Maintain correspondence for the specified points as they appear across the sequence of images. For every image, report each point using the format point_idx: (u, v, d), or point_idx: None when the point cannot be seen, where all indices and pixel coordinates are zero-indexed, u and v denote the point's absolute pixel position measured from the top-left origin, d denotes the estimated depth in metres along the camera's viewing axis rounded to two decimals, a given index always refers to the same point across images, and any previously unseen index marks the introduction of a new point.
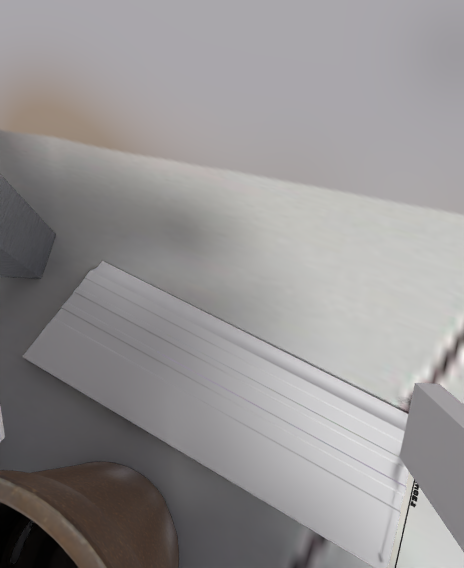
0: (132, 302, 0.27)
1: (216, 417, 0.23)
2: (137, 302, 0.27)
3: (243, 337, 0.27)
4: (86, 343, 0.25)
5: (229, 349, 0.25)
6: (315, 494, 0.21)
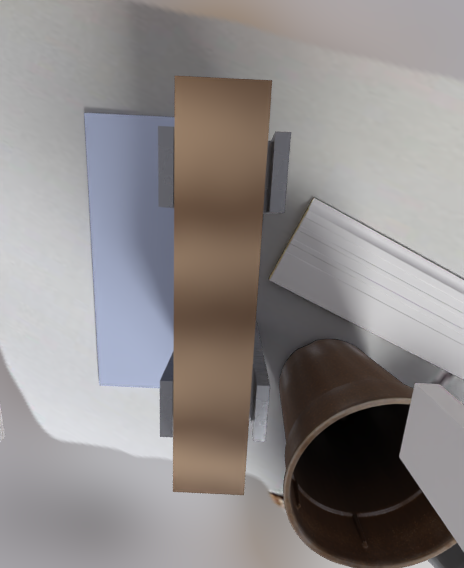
0: (345, 239, 0.34)
1: (403, 318, 0.36)
2: (349, 239, 0.34)
3: (426, 264, 0.35)
4: (313, 271, 0.35)
5: (418, 275, 0.35)
6: (456, 357, 0.37)
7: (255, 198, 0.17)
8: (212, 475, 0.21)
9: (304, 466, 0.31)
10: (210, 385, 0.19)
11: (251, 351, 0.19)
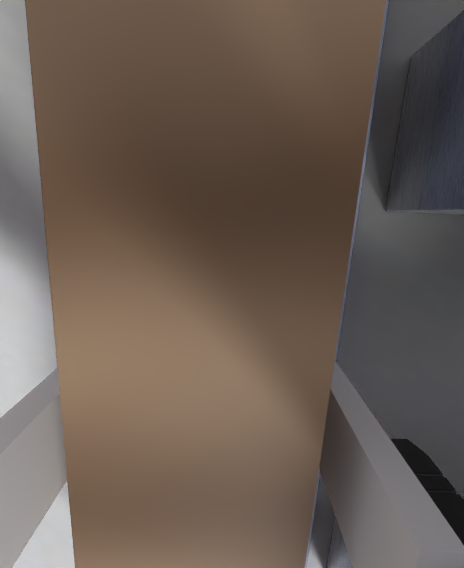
0: None
1: None
2: None
3: None
4: None
5: None
6: None
7: (334, 147, 0.05)
8: None
9: None
10: None
11: None
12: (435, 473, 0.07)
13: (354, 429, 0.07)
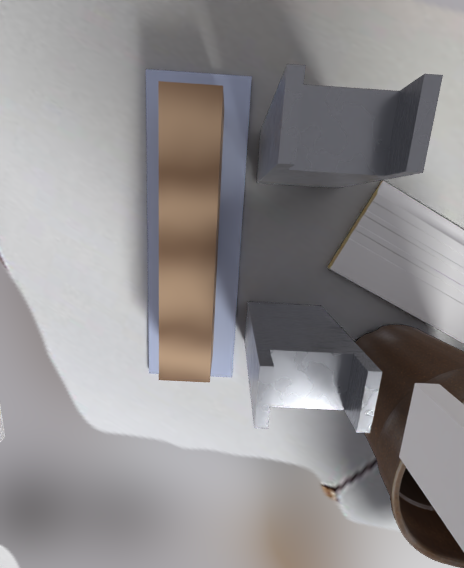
0: (413, 226, 0.32)
1: None
2: (418, 226, 0.32)
3: None
4: (377, 260, 0.33)
5: None
6: None
7: (213, 165, 0.25)
8: (187, 367, 0.29)
9: None
10: (184, 299, 0.28)
11: (212, 274, 0.27)
12: None
13: None
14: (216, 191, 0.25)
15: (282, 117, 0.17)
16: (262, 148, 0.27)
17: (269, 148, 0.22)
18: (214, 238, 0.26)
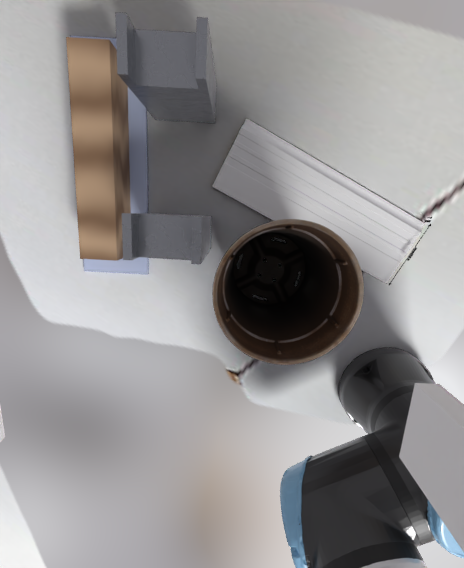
0: (271, 152, 0.43)
1: (319, 220, 0.45)
2: (274, 152, 0.43)
3: (337, 176, 0.44)
4: (246, 179, 0.44)
5: (329, 184, 0.44)
6: (363, 255, 0.46)
7: (107, 95, 0.36)
8: (99, 248, 0.41)
9: (242, 315, 0.40)
10: (94, 195, 0.39)
11: (113, 175, 0.38)
12: None
13: None
14: (110, 114, 0.37)
15: (117, 45, 0.28)
16: None
17: None
18: (112, 148, 0.38)
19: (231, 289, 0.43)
